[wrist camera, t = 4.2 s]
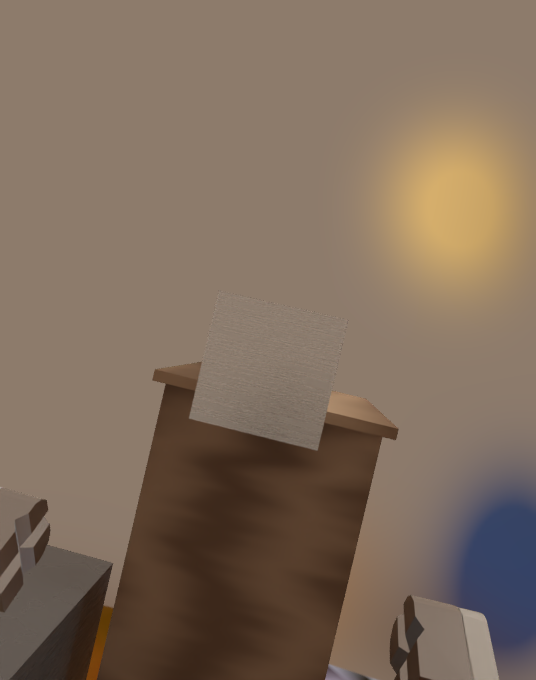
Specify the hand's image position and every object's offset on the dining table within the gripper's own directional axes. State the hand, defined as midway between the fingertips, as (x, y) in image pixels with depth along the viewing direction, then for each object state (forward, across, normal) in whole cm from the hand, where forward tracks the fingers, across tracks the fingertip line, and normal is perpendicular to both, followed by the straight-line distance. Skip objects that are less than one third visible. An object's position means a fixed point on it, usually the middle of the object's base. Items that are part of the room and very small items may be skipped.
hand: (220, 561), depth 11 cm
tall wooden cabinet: (+3, 0, +29) cm, 29 cm away
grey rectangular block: (+12, 0, +4) cm, 12 cm away
